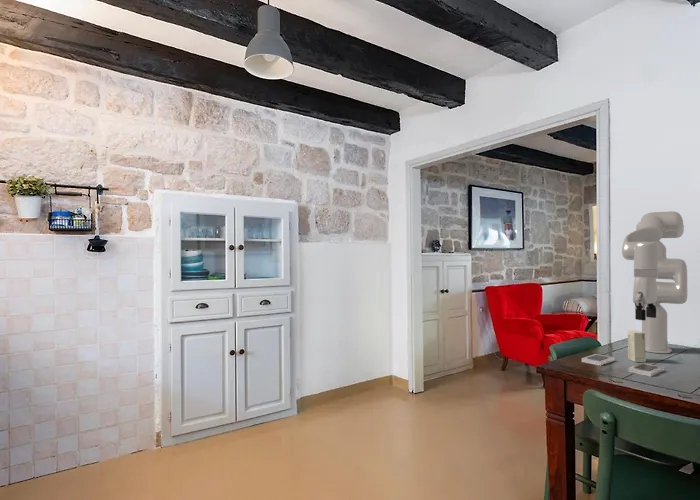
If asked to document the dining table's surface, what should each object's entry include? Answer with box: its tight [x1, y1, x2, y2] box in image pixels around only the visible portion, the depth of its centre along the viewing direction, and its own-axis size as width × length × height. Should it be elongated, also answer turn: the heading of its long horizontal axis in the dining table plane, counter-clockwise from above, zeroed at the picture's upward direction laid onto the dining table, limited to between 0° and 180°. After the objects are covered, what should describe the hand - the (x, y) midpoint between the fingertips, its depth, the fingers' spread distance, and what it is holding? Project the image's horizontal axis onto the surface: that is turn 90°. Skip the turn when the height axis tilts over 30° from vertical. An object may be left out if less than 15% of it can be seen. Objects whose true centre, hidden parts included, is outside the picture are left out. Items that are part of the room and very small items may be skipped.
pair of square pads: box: [581, 353, 665, 377], centre depth 169 cm, size 12×25×2 cm, turn 35°
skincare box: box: [627, 329, 647, 363], centre depth 177 cm, size 6×4×12 cm
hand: (645, 318), depth 162 cm, fingers open, 9 cm apart
